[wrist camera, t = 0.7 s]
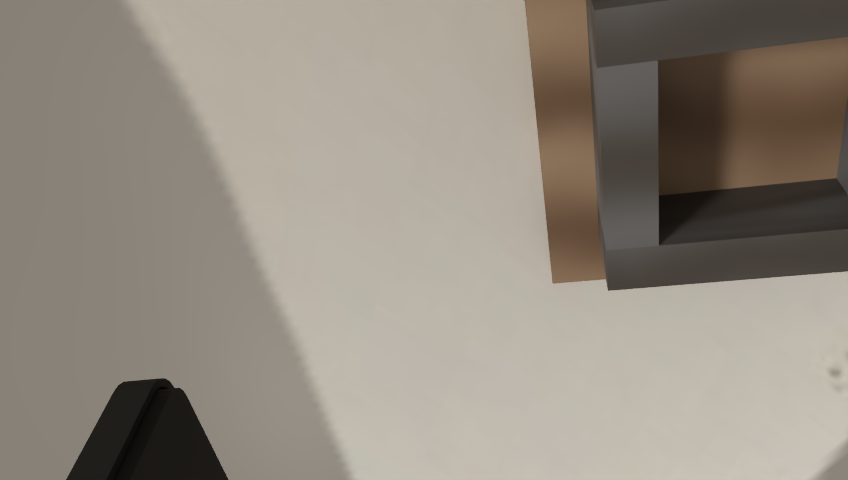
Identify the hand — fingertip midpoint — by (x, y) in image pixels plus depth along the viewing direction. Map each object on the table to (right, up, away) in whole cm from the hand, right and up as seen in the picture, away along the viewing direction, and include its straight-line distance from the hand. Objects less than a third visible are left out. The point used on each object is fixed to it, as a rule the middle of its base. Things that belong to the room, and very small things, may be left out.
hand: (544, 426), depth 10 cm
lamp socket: (+11, +8, +22) cm, 26 cm away
